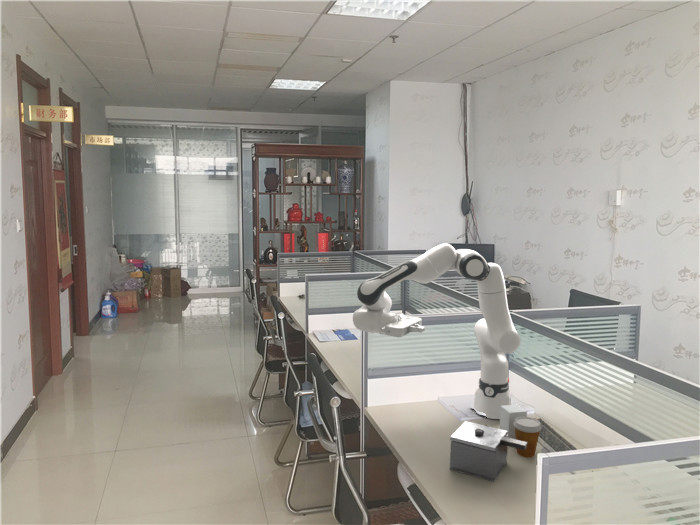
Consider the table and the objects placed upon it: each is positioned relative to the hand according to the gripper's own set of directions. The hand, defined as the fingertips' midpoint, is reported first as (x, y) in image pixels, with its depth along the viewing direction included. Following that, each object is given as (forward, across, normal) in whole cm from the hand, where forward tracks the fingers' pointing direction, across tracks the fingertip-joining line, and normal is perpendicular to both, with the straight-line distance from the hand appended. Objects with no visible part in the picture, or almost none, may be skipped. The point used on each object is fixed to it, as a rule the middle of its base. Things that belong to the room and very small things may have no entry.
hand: (423, 329), depth 215 cm
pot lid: (+32, -16, +30) cm, 47 cm away
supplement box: (+33, +10, +40) cm, 53 cm away
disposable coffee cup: (+40, +2, +40) cm, 57 cm away
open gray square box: (+29, -16, +40) cm, 52 cm away
